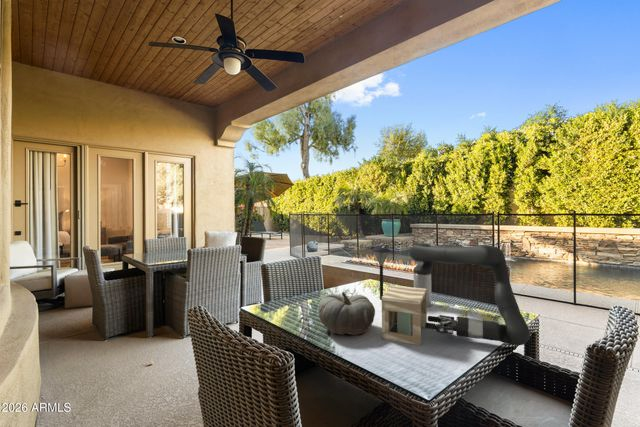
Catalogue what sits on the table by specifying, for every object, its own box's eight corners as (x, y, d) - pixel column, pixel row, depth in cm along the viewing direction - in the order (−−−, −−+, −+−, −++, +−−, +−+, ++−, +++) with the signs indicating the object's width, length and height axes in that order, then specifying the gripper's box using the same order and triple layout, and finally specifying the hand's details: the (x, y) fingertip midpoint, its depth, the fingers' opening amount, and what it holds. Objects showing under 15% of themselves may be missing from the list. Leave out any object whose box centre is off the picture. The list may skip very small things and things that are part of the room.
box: (392, 322, 149) (392, 285, 148) (426, 326, 142) (426, 288, 142) (382, 338, 130) (381, 297, 130) (420, 345, 124) (420, 301, 124)
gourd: (308, 317, 149) (315, 281, 148) (355, 319, 158) (362, 285, 157) (327, 344, 126) (335, 302, 124) (381, 344, 134) (389, 305, 133)
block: (399, 329, 140) (399, 307, 140) (411, 331, 138) (411, 308, 138) (397, 333, 135) (397, 310, 135) (409, 335, 133) (409, 312, 133)
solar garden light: (369, 301, 181) (369, 249, 181) (372, 295, 193) (371, 246, 192) (391, 303, 178) (391, 249, 177) (393, 297, 189) (392, 246, 189)
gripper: (469, 312, 132) (428, 307, 139) (469, 324, 119) (424, 318, 126) (469, 330, 132) (428, 324, 139) (469, 344, 119) (424, 337, 126)
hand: (426, 321), depth 133 cm, fingers open, 8 cm apart
